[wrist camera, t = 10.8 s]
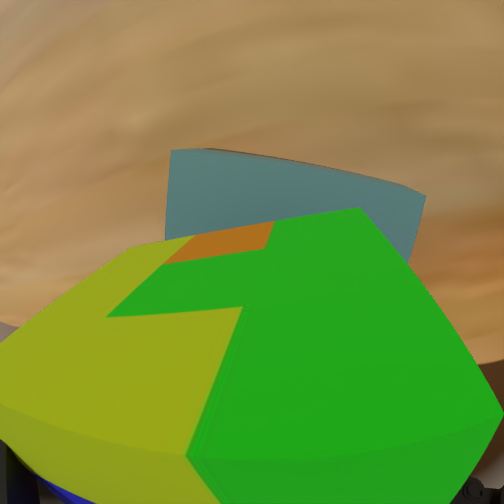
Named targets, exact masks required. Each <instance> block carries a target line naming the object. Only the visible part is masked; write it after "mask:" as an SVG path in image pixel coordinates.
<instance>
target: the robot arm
mask: <svg viewBox="0 0 504 504" xmlns="http://www.w3.org/2000/svg"><path fill="white" fill-rule="evenodd" d="M0 504H40V498H39V490H38V482H37V478H36V477H35V476H34V475H33V474H32V473H31V472H30V471H29V470H28V469H27V468H26V467H25V466H24V465H23V464H22V463H21V462H20V461H19V460H18V458H17V457H16V456H15V455H14V453H13V452H12V451H11V449H10V448H9V447H8V445H7V444H6V443H5V442H4V441H2V440H1V439H0ZM449 504H504V486H503V487H502V488H500V489H492V488H484V486H483V484H482V483H481V481H479V480H478V479H476V478H474V477H470V475H469V477H468V478H467V480H466V481H465V483H464V484H463V486H462V487H461V489H460V490H459V491H458V493H457V494H456V495H455V497H454V498H453V500H452V501H451V502H450V503H449Z"/></svg>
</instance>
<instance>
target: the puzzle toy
mask: <svg viewBox="0 0 504 504" xmlns="http://www.w3.org/2000/svg"><path fill="white" fill-rule="evenodd" d="M503 415H504V412H503V410H502V408H501V406H500V404H499V403H498V400H497V399H496V397H495V395H494V394H493V391H492V389H491V388H490V386H489V384H488V382H487V381H486V379H485V377H484V375H483V374H482V372H481V370H480V369H479V367H478V365H477V364H476V362H475V360H474V359H473V357H472V355H471V354H470V352H469V351H468V349H467V347H466V346H465V344H464V343H463V341H462V340H461V338H460V337H459V335H458V334H457V332H456V330H455V329H454V328H453V326H452V325H451V323H450V322H449V320H448V319H447V317H446V316H445V314H444V313H443V311H442V310H441V309H440V307H439V306H438V304H437V303H436V302H435V300H434V299H433V297H432V296H431V295H430V293H429V292H428V291H427V289H426V288H425V286H424V285H423V284H422V282H421V281H420V280H419V279H418V277H417V276H416V275H415V273H414V272H413V271H412V269H411V268H410V267H409V266H408V264H407V263H406V262H405V260H404V259H403V258H402V257H401V255H400V254H399V253H398V252H397V250H396V249H395V248H394V247H393V246H392V244H391V243H390V242H389V241H388V240H387V238H386V237H385V236H384V235H383V234H382V232H381V231H380V230H379V229H378V228H377V226H376V225H375V224H374V223H373V222H372V221H371V220H370V218H369V217H368V216H367V215H366V214H365V213H364V212H363V210H362V209H361V208H360V207H358V208H351V209H345V210H338V211H332V212H326V213H319V214H313V215H307V216H301V217H295V218H289V219H283V220H277V221H271V222H265V223H259V224H253V225H248V226H242V227H236V228H231V229H225V230H220V231H214V232H209V233H203V234H198V235H192V236H187V237H182V238H177V239H171V240H166V241H161V242H156V243H151V244H146V245H141V246H136V247H131V248H129V249H128V250H126V251H125V252H123V253H122V254H120V255H119V256H117V257H116V258H114V259H113V260H111V261H110V262H108V263H107V264H106V265H104V266H103V267H101V268H100V269H98V270H97V271H95V272H94V273H93V274H91V275H90V276H88V277H87V278H85V279H84V280H83V281H81V282H80V283H78V284H77V285H76V286H74V287H73V288H71V289H70V290H69V291H67V292H66V293H65V294H63V295H62V296H60V297H59V298H58V299H56V300H55V301H54V302H52V303H51V304H50V305H48V306H47V307H46V308H44V309H43V310H42V311H40V312H39V313H38V314H36V315H35V316H34V317H33V318H31V319H30V320H29V321H27V322H26V323H25V324H24V325H22V326H21V327H20V328H19V329H17V330H16V331H15V332H14V333H12V334H11V335H10V336H9V337H7V338H6V339H5V340H4V341H3V342H1V343H0V439H1V440H2V441H4V442H5V443H6V444H7V445H8V447H9V448H10V449H11V451H12V452H13V453H14V455H15V456H16V457H17V458H18V460H19V461H20V462H21V463H22V464H23V465H24V466H25V467H26V468H27V469H28V470H29V471H30V472H31V473H32V474H33V475H34V476H35V477H36V478H37V479H38V480H39V481H40V482H41V483H42V484H43V485H44V486H46V487H47V488H48V489H49V490H50V491H51V492H52V493H53V494H54V495H55V496H57V497H58V498H59V499H60V500H61V501H63V502H64V503H65V504H449V503H450V502H451V501H452V500H453V498H454V497H455V495H456V494H457V493H458V491H459V490H460V489H461V487H462V486H463V484H464V483H465V481H466V480H467V478H468V477H469V475H470V474H471V472H472V471H473V469H474V468H475V466H476V464H477V463H478V461H479V460H480V458H481V456H482V455H483V453H484V451H485V449H486V448H487V446H488V444H489V442H490V441H491V439H492V437H493V435H494V433H495V431H496V429H497V427H498V425H499V423H500V421H501V419H502V417H503Z"/></svg>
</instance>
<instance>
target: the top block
mask: <svg viewBox="0 0 504 504" xmlns="http://www.w3.org/2000/svg"><path fill="white" fill-rule="evenodd" d="M425 198H426V196H425V195H423V194H421V193H419V192H417V191H415V190H412V189H410V188H408V187H406V186H403V185H401V184H397V183H393V182H389V181H385V180H381V179H377V178H373V177H368V176H364V175H360V174H355V173H351V172H346V171H341V170H337V169H332V168H327V167H322V166H316V165H311V164H306V163H300V162H294V161H289V160H282V159H276V158H270V157H263V156H256V155H249V154H242V153H234V152H226V151H218V150H209V149H199V148H195V149H180V150H171V157H170V168H169V179H168V192H167V207H166V225H165V241H166V240H171V239H177V238H182V237H187V236H192V235H198V234H203V233H209V232H214V231H220V230H225V229H231V228H236V227H242V226H248V225H253V224H259V223H265V222H271V221H277V220H283V219H289V218H295V217H301V216H307V215H313V214H319V213H326V212H332V211H338V210H345V209H351V208H358V207H360V208H361V209H362V210H363V212H364V213H365V214H366V215H367V216H368V217H369V218H370V220H371V221H372V222H373V223H374V224H375V225H376V226H377V228H378V229H379V230H380V231H381V232H382V234H383V235H384V236H385V237H386V238H387V240H388V241H389V242H390V243H391V244H392V246H393V247H394V248H395V249H396V250H397V252H398V253H399V254H400V255H401V257H402V258H403V259H404V260H405V262H406V263H407V264H408V262H409V258H410V255H411V252H412V248H413V245H414V241H415V238H416V234H417V230H418V227H419V223H420V219H421V215H422V211H423V207H424V202H425Z"/></svg>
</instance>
